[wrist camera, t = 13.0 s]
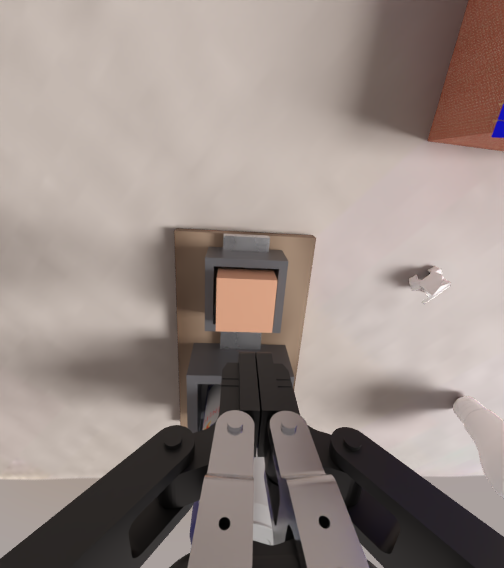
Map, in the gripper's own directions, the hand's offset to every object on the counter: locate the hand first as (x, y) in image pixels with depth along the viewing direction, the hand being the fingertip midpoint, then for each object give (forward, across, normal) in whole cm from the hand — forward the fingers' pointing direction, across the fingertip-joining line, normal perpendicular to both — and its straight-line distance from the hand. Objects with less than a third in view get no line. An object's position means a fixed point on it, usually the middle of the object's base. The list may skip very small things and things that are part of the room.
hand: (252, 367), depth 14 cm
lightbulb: (+13, -24, +13) cm, 30 cm away
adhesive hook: (+13, -17, +1) cm, 21 cm away
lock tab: (+9, 0, 0) cm, 9 cm away
